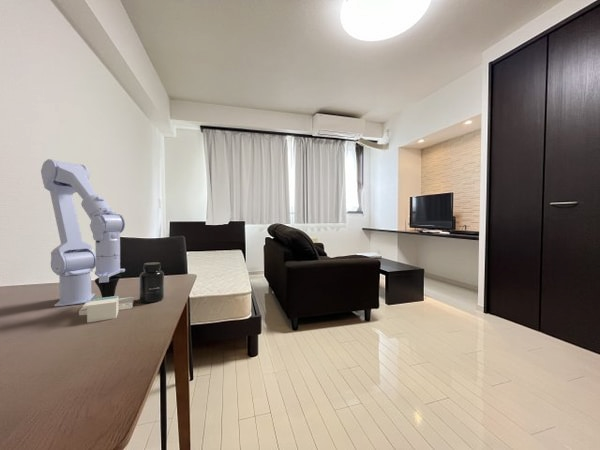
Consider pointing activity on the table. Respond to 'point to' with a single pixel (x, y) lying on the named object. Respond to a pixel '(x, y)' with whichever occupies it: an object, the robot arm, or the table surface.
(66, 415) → the table surface
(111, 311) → the teal striped cube
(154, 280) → the supplement bottle
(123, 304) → the ticket
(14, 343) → the table surface
